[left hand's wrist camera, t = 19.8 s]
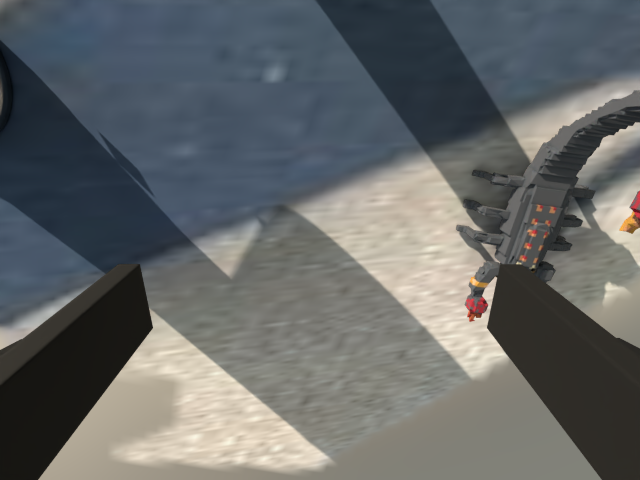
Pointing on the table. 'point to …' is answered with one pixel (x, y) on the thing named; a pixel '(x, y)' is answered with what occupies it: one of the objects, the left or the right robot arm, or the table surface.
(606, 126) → the toy
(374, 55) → the table surface
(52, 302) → the table surface
